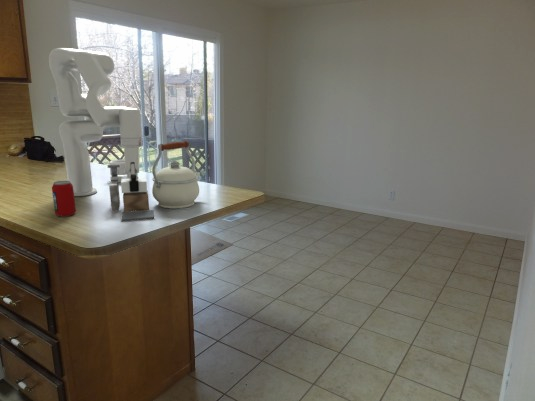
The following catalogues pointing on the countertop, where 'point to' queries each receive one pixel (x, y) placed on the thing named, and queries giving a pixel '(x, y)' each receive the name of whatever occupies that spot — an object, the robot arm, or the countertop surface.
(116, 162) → the mug
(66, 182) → the beverage can
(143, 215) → the mat
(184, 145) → the kettle
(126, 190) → the cover
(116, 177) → the latch
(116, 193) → the housing
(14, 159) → the countertop surface
